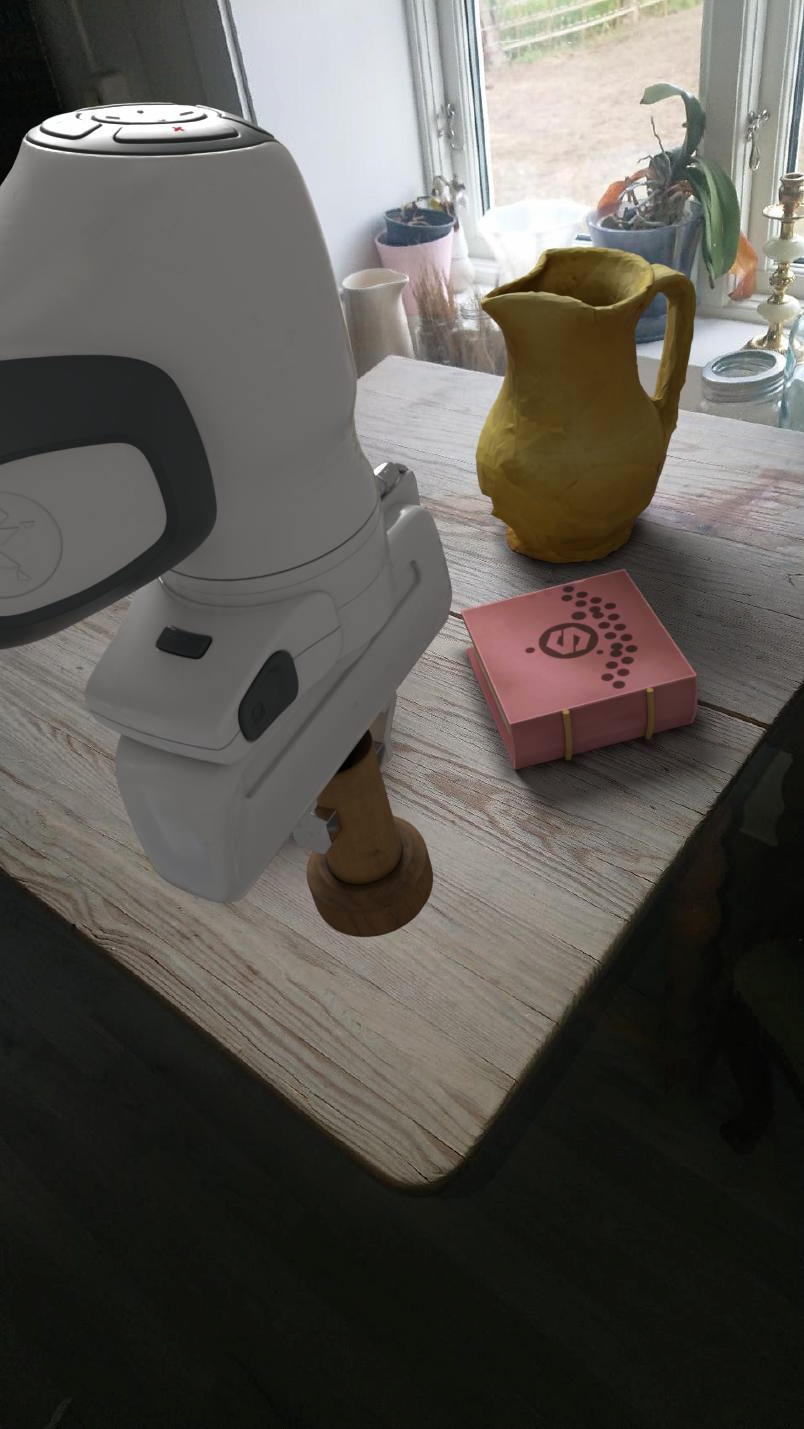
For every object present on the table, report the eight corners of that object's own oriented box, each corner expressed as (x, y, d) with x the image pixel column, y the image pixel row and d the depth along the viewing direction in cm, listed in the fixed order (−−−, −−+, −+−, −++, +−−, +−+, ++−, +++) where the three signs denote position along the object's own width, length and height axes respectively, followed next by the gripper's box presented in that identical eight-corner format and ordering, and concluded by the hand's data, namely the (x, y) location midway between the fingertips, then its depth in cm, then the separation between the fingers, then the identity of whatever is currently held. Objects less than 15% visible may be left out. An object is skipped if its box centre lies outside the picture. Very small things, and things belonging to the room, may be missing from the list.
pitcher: (498, 475, 105) (488, 233, 87) (677, 485, 100) (706, 231, 82) (462, 575, 94) (443, 321, 76) (662, 592, 89) (691, 325, 71)
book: (517, 778, 74) (513, 732, 71) (467, 655, 85) (460, 610, 82) (697, 730, 75) (701, 682, 71) (624, 614, 86) (624, 568, 82)
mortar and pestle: (350, 825, 56) (273, 572, 44) (453, 855, 53) (402, 595, 41) (293, 917, 52) (190, 669, 40) (400, 955, 49) (326, 701, 37)
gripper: (346, 433, 46) (392, 655, 55) (49, 724, 34) (173, 943, 43) (467, 449, 43) (493, 680, 53) (190, 771, 31) (289, 995, 41)
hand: (347, 802), depth 48 cm, fingers closed on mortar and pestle, 4 cm apart
